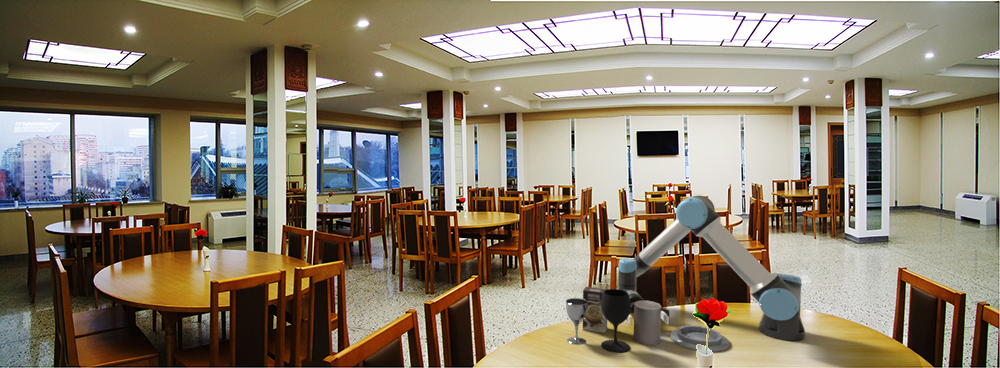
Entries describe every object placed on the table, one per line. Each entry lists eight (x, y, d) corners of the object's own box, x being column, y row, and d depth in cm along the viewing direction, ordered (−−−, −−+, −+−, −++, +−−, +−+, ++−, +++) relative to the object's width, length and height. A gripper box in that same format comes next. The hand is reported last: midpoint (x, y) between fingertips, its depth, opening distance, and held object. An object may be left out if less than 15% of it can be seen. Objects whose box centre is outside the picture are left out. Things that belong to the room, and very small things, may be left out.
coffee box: (582, 330, 179) (582, 290, 178) (585, 324, 185) (585, 285, 184) (605, 333, 175) (605, 292, 174) (607, 327, 181) (608, 288, 180)
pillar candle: (628, 337, 171) (628, 299, 170) (648, 333, 175) (648, 295, 174) (645, 347, 162) (646, 307, 161) (666, 342, 166) (667, 303, 165)
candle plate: (720, 332, 176) (720, 325, 175) (736, 354, 156) (736, 346, 156) (666, 328, 179) (666, 321, 179) (675, 349, 160) (676, 342, 160)
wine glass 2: (631, 354, 157) (632, 297, 155) (601, 351, 159) (601, 296, 158) (629, 341, 167) (629, 289, 166) (600, 339, 169) (600, 287, 168)
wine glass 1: (589, 338, 170) (589, 299, 169) (584, 346, 163) (584, 306, 162) (569, 335, 174) (569, 297, 173) (563, 342, 167) (563, 303, 166)
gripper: (663, 310, 186) (683, 330, 165) (603, 310, 187) (615, 330, 166) (663, 293, 186) (683, 310, 165) (603, 293, 187) (615, 310, 165)
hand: (649, 320), depth 165 cm, fingers open, 13 cm apart
